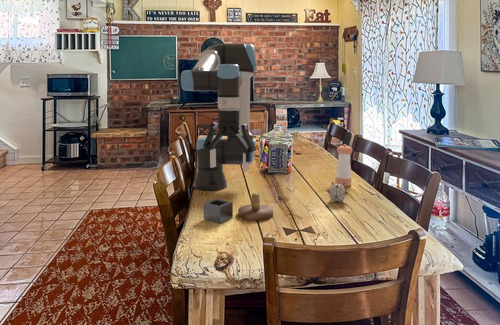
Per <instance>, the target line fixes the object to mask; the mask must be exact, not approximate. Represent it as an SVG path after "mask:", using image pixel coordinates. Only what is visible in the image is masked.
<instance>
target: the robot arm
mask: <svg viewBox="0 0 500 325" xmlns="http://www.w3.org/2000/svg"><path fill="white" fill-rule="evenodd" d="M257 67H258V66H257V58H256V51H255V45H253V44H252V43H218V44H214V45H211V46H209V47H207V48H206V49H204V50H203V51H201V53H200V54H199V56H198V61H197V62H196V64H195V65H194V67H193V68H192V69H187V70H182V72H181V75H180V86H181V88H182V90H183V91H185V92H217V108H218V110H217V120H218V122H217V121H212V122H210V127H209V130H208V133H207V136H202V137H200V138H198V139H197V142H196V160H197V162H196V163H197V164H196V166H197V167H196V168H197V169H196V174H195V177H194V181H193V187H194V189H196V190H200V191H217V190H223V189H225V188H226V187H227V186H228V183H227V182H228V181H227V179H226V175H225V172H224V168H223V167H224V166H223V165H228V166H229V165H231V166H232V165H234V166H235V165H238V166H239V165H240V166H242V172H247V171H249V168H250V166H249V165H252V164H253V162H254V159H255V158H254V157H255V154H256V153H255V152H256V150H257V147H256V146H257V145H256V144H257V139H255V138H254V135H253V134H252V133H251V128H250V126H251V125H250V124H251V123H250V122H251V120H250V118H251V78H252V77H253V76H254V74H255V73H254V72H255V71H257V70H258V68H257ZM217 129H219V131H218V132H217ZM216 132H217V133H216ZM215 133H216V135H215ZM223 137H227V138H223Z"/></svg>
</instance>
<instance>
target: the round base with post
mask: <svg viewBox="0 0 500 325" xmlns="http://www.w3.org/2000/svg"><path fill="white" fill-rule="evenodd" d="M260 197H261V195H260V192H253V193H251V204H246V205H242V206H240V207H238V209H237V210H238V211H237V216H238V217H239V218H241V219H242V220H244V221H253V222H255V221H256V222H257V221H258V222H259V221H267V220H270V219H272V218H273V216H274V208H273V207H272V206H269V205H265V204H261V203H260V202H261V201H260V200H261V198H260Z"/></svg>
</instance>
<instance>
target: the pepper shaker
mask: <svg viewBox="0 0 500 325" xmlns="http://www.w3.org/2000/svg"><path fill="white" fill-rule="evenodd" d="M336 151H337V153H338V155H337V156H338V158H337V160H338V161H337V166H336V174H335V178H334V179H335V180H334V181H335V182H334V184H343V183H345V184H344V187H350V185H352V177H351V176H352V167H351V155H352V153H353V147H351V146H348V145H347V144H346V143H344V144H343V145H340V146H338V147H337V148H336Z"/></svg>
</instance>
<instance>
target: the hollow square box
mask: <svg viewBox="0 0 500 325" xmlns="http://www.w3.org/2000/svg"><path fill="white" fill-rule="evenodd" d="M233 205H234V204H233V201H231V200H224V199H221V198H214V199H211V200H210V201H207V202H204V203H203V204H202V206H203V207H202V208H203V209H202V210H203V220H204V221H209V222H212V223H215V224H216V223H217V224H222V223H225V222H227V221H229V220H231V219H233V218H234V211H233V210H234V207H233Z"/></svg>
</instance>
